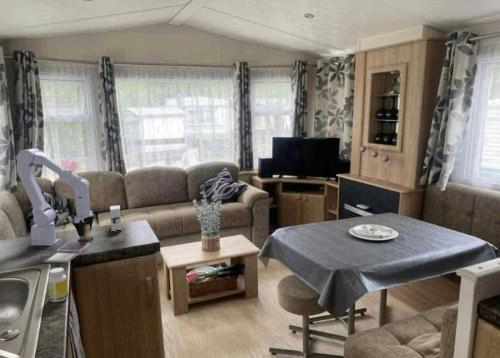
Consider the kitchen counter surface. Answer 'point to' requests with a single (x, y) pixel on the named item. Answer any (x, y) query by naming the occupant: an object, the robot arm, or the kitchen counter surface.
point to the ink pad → (74, 247)
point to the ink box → (115, 218)
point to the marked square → (61, 257)
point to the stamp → (86, 235)
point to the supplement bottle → (57, 285)
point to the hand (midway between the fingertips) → (85, 233)
